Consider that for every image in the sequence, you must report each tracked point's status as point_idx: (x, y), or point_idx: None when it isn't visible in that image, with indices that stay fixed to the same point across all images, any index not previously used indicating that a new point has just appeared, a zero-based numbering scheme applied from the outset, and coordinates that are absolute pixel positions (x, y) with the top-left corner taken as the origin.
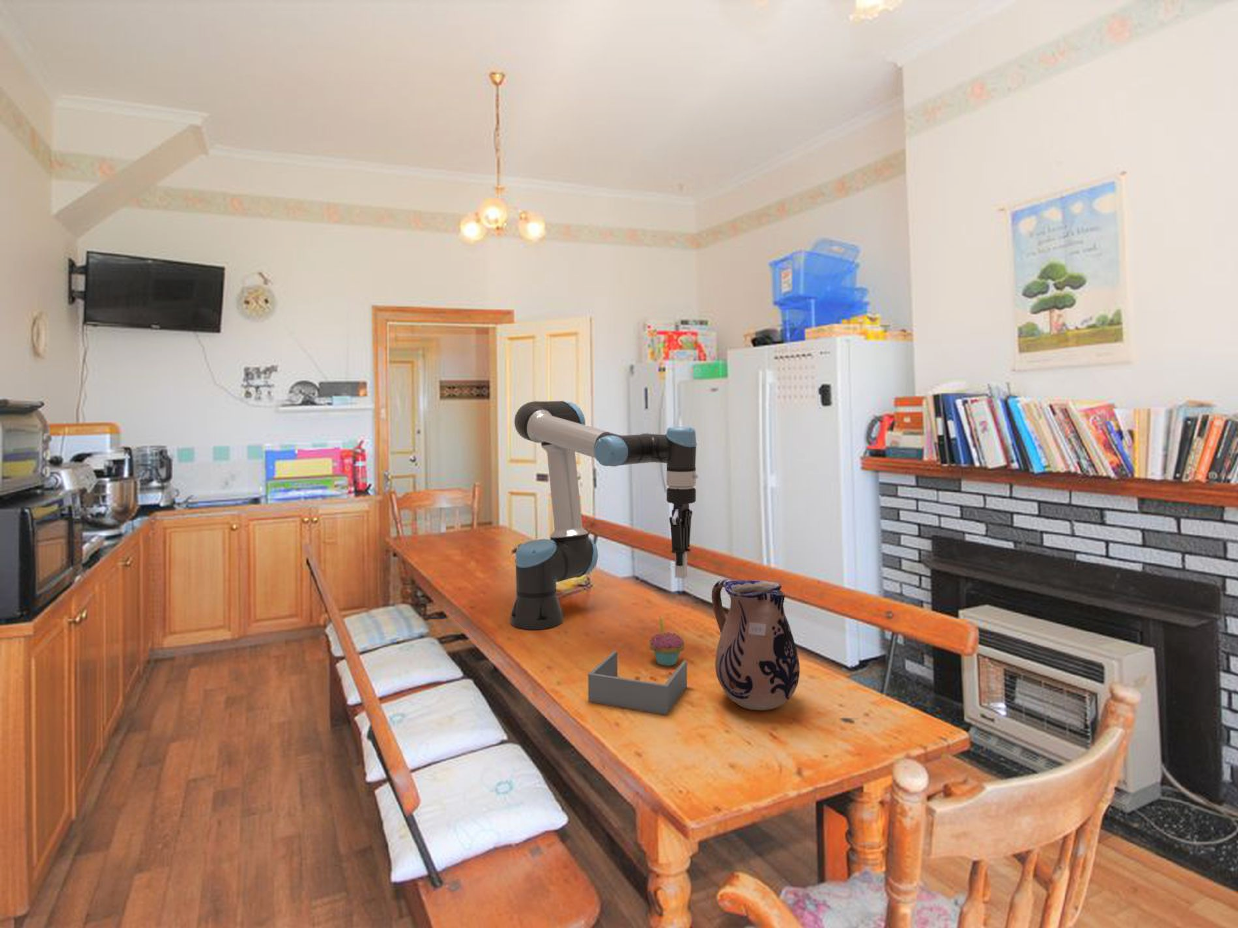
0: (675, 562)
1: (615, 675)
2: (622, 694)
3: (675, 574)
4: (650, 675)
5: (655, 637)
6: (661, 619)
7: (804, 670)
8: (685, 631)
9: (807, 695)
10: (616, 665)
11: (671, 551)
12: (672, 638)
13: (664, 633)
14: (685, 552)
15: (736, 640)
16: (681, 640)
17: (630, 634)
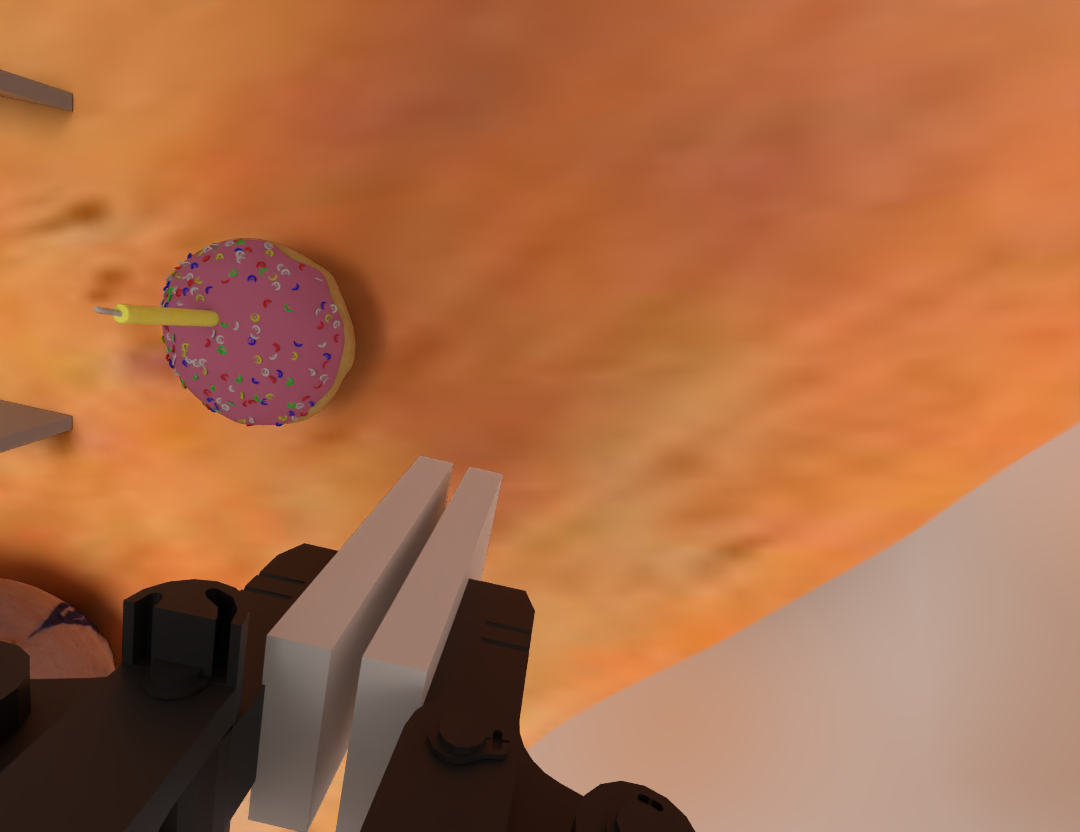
0: (348, 543)
1: (37, 102)
2: None
3: (408, 473)
4: (134, 268)
5: (207, 274)
6: (120, 321)
7: None
8: (750, 383)
9: None
10: (10, 93)
11: (138, 592)
12: (201, 376)
13: (239, 326)
14: (355, 826)
15: None
16: (247, 418)
17: (669, 63)
